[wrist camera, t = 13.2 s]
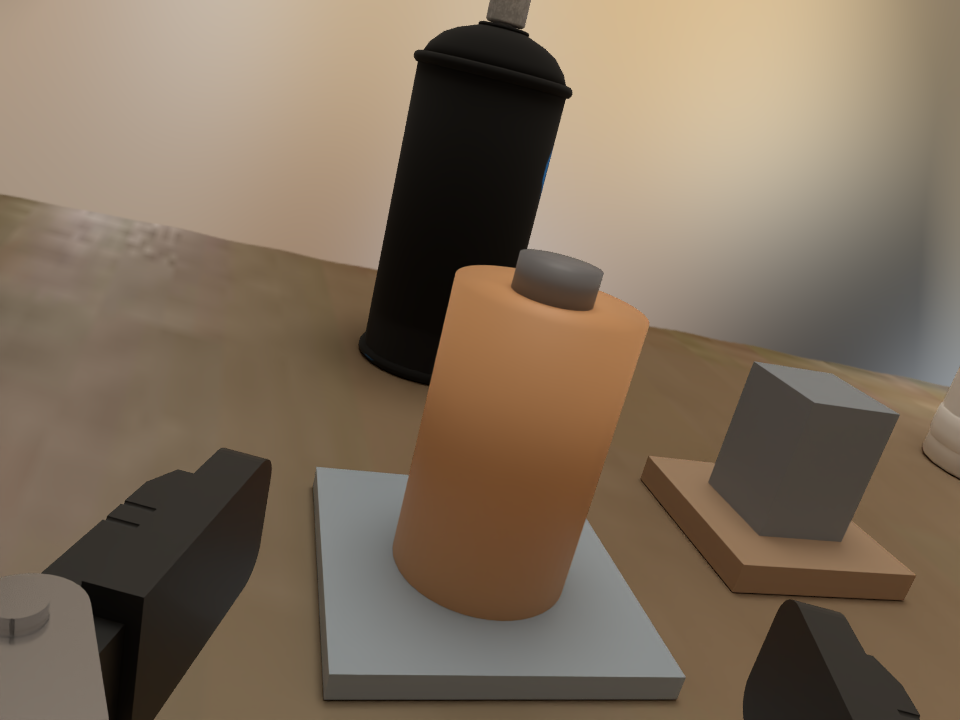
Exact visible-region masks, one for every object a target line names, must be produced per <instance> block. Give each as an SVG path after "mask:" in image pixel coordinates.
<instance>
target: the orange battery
mask: <svg viewBox="0 0 960 720" xmlns="http://www.w3.org/2000/svg"><path fill="white" fill-rule="evenodd" d="M603 274H604V273H603V271H602V270H601V269H599V268H597V267H595V266H593V265H591V264H589V263H587V262H584V261H581V260H578V259H575V258H572V257H569V256H565V255H561V254H557V253H553V252H548V251H542V250H534V249H523V250H521V251H520V253H519V257H518V261H517V265H516V268H511V267H503V266H492V265H473V266H466V267H463V268H460V269H458V270H457V271H456V273H455V278H454V282H453V286H452V291H451V295H450V299H449V304H448V308H447V312H446V317H445V321H444V325H443V330H442V334H441V338H440V343H439V347H438V351H437V356H436V360H435V364H434V369H433V373H432V377H431V381H430V386H429V390H428V394H427V399H426V403H425V407H424V412H423V416H422V420H421V425H420V429H419V433H418V438H417V442H416V446H415V451H414V455H413V459H412V464H411V468H410V472H409V477H408V481H407V485H406V490H405V494H404V498H403V503H402V507H401V511H400V516H399V520H398V524H397V529H396V533H395V537H394V542H393V557H394V560H395V563H396V565H397V567H398V569H399V571H400V573H401V574H402V575H403V577H404V578H405V579H406V580H407V581H408V582H409V584H410V585H411V586H413V587H414V588H415V589H416V590H417V591H418V592H420V593H421V594H422V595H424V596H425V597H427V598H428V599H430V600H432V601H433V602H435V603H437V604H439V605H441V606H443V607H445V608H447V609H450V610H452V611H455V612H458V613H460V614H463V615H467V616H471V617H475V618H480V619H486V620H495V621H514V620H523V619H527V618H531V617H534V616H537V615H540V614H542V613H544V612H545V611H547V610H549V609H550V608H551V607H552V606H554V605H555V603H556V602H557V601H558V600H559V598H560V596H561V593H562V591H563V588H564V585H565V581H566V578H567V575H568V572H569V569H570V566H571V563H572V560H573V557H574V554H575V551H576V548H577V545H578V542H579V539H580V536H581V532H582V529H583V526H584V523H585V520H586V517H587V514H588V511H589V508H590V505H591V502H592V499H593V496H594V493H595V490H596V487H597V483H598V480H599V477H600V474H601V471H602V468H603V465H604V462H605V459H606V456H607V453H608V450H609V447H610V444H611V441H612V438H613V434H614V431H615V428H616V425H617V422H618V419H619V416H620V413H621V410H622V407H623V404H624V401H625V398H626V395H627V392H628V389H629V385H630V382H631V379H632V376H633V373H634V370H635V367H636V364H637V361H638V358H639V355H640V352H641V349H642V346H643V343H644V340H645V336H646V333H647V330H648V327H649V321H648V319H647V318H646V317H645V315H644V314H642V313H641V312H640V311H639V310H637V309H635V308H634V307H633V306H631V305H629V304H627V303H626V302H624V301H621V300H620V299H618V298H615V297H613V296H611V295H608V294H606V293H604V292H601V291H599V287H600V284H601V281H602V277H603Z"/></svg>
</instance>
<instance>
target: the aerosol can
mask: <svg viewBox="0 0 960 720" xmlns="http://www.w3.org/2000/svg"><path fill="white" fill-rule="evenodd" d="M530 2H531V0H490V3H489V7H488V13H487V17H486V18H487V20H488V21H490V22H487V21H480V22H479V24H478V25H470V26H461V27H456V28H453V29H450V30H446V31H444V32H442V33H441V34H439V35H438V36H437V37H435V38H434V39H432V40H431V41H430V42H429V43H428V45H427V46H426V47H425V49H424V50H417V51H415V53H414V58H415V59H416V61H418V64H417V69H416V75H415V80H414V86H413V90H412V95H411V101H410V106H409V111H408V116H407V121H406V126H405V132H404V137H403V142H402V147H401V153H400V158H399V163H398V168H397V174H396V178H395V183H394V189H393V194H392V199H391V204H390V209H389V215H388V220H387V226H386V231H385V235H384V240H383V246H382V251H381V256H380V261H379V267H378V271H377V277H376V282H375V287H374V292H373V297H372V303H371V308H370V313H369V318H368V323H367V328H366V332H365V333H364V334H363V335H362V336H361V337H360V340H359V347H360V350H361V351H362V353H363V354H364V355H365V357H366V358H367V359H369V360H370V361H371V362H372V363H374V364H375V365H377V366H379V367H380V368H382V369H384V370H386V371H388V372H391V373H393V374H395V375H398V376H401V377H404V378H406V379H410V380H413V381H417V382H421V383H425V384H430V381H431V377H432V373H433V369H434V364H435V360H436V356H437V351H438V347H439V343H440V338H441V334H442V330H443V325H444V321H445V317H446V312H447V308H448V304H449V299H450V295H451V291H452V286H453V282H454V278H455V273H456V271H457V270H458V269H460V268H463V267H466V266H473V265H492V266H503V267H511V268H516V265H517V261H518V257H519V253H520V251H521V250H523V249H527V247H528V243H529V239H530V235H531V231H532V228H533V224H534V220H535V216H536V212H537V208H538V204H539V200H540V196H541V193H542V189H543V185H544V181H545V177H546V173H547V169H548V166H549V162H550V158H551V154H552V150H553V146H554V142H555V138H556V135H557V131H558V127H559V123H560V119H561V115H562V111H563V108H564V104H565V100H566V99H569V98H570V97H571V96H572V90H571V88H569V87H567V86H566V84H565V80H564V75H563V73H562V71H561V69H560V67H559V65H558V63H557V61H556V59H555V58H554V57H553V56H552V55H551V54H550V53H549V52H548V51H547V50H546V49H544V48H543V47H541V46H540V45H539V44H537V43H536V42H535V41H533V40H532V39H530V38H529V34H528V33H527V32H524V31H522V30H519V29H523V28H524V27H525V23H526V19H527V15H528V10H529V6H530ZM516 28H517V29H516Z"/></svg>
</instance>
